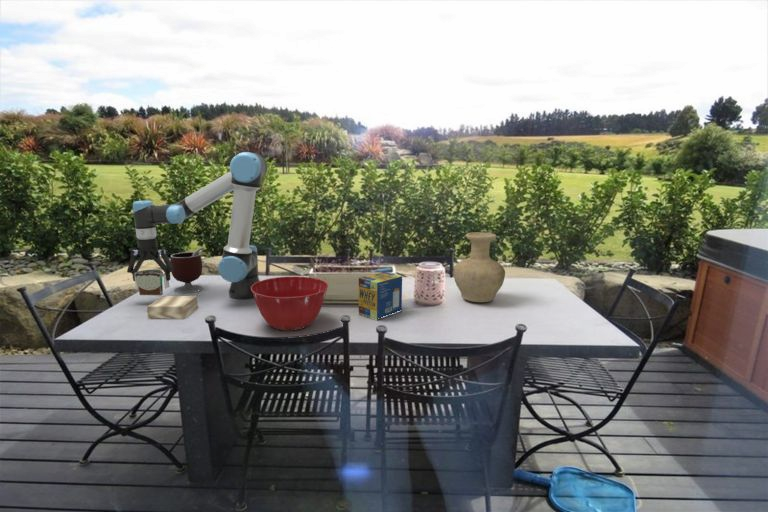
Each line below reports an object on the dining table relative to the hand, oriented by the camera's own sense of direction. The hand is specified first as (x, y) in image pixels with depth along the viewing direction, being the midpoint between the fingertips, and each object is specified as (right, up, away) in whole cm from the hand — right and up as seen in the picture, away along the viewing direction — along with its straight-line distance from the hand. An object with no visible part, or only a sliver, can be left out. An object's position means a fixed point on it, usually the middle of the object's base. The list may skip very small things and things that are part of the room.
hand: (153, 288), depth 194 cm
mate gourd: (+6, -2, +23) cm, 24 cm away
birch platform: (+14, -9, -10) cm, 19 cm away
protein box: (+98, -10, -8) cm, 99 cm away
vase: (+141, -6, +10) cm, 142 cm away
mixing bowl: (+64, -12, -22) cm, 69 cm away
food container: (0, -3, 0) cm, 3 cm away
